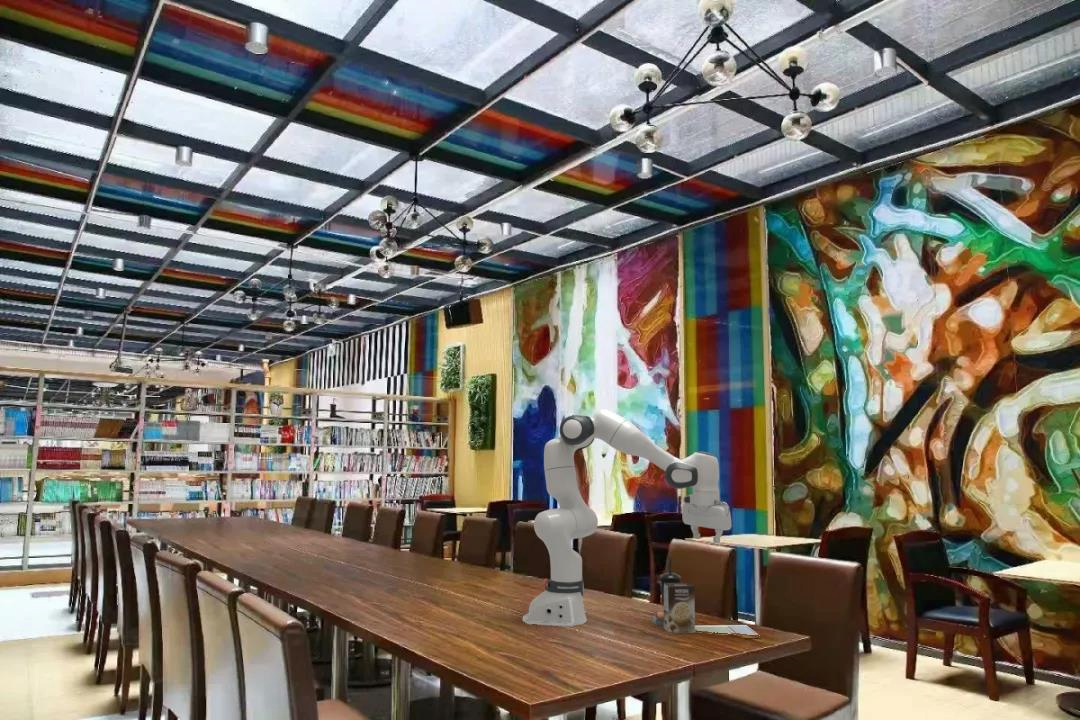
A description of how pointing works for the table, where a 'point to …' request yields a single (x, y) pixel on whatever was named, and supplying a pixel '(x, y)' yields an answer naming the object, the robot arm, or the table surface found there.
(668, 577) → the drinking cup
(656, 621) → the button housing
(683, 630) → the coffee box
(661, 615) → the button
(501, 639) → the table surface
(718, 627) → the picture board
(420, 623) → the table surface
